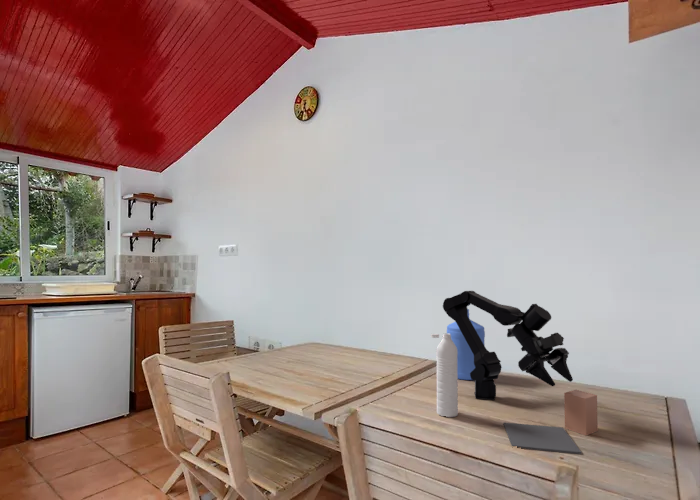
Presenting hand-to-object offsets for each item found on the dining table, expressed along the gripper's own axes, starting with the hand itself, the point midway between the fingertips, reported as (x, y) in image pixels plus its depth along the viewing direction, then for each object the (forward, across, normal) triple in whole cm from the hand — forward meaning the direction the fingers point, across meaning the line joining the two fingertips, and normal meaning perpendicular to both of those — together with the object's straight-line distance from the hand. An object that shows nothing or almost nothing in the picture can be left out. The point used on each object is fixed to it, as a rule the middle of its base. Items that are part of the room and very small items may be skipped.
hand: (562, 383), depth 121 cm
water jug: (-29, +16, +45) cm, 56 cm away
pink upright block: (+12, 0, +5) cm, 13 cm away
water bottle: (-8, -25, +25) cm, 36 cm away
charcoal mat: (+10, -16, +7) cm, 20 cm away
